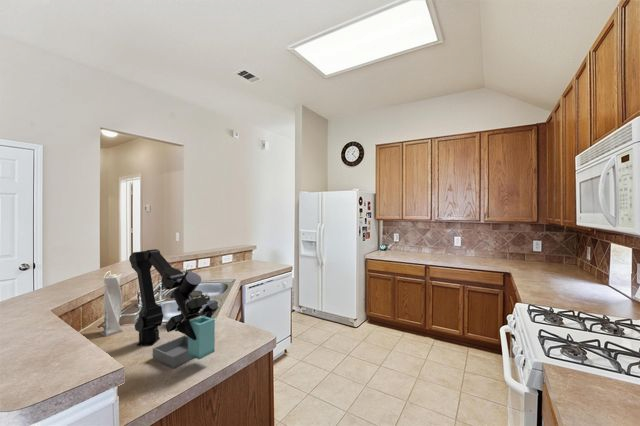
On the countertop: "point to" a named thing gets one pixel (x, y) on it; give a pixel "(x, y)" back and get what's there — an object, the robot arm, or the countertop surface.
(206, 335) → the teal square planter
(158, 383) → the countertop surface
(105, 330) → the skyscraper
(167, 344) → the gray square tray
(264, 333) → the countertop surface
